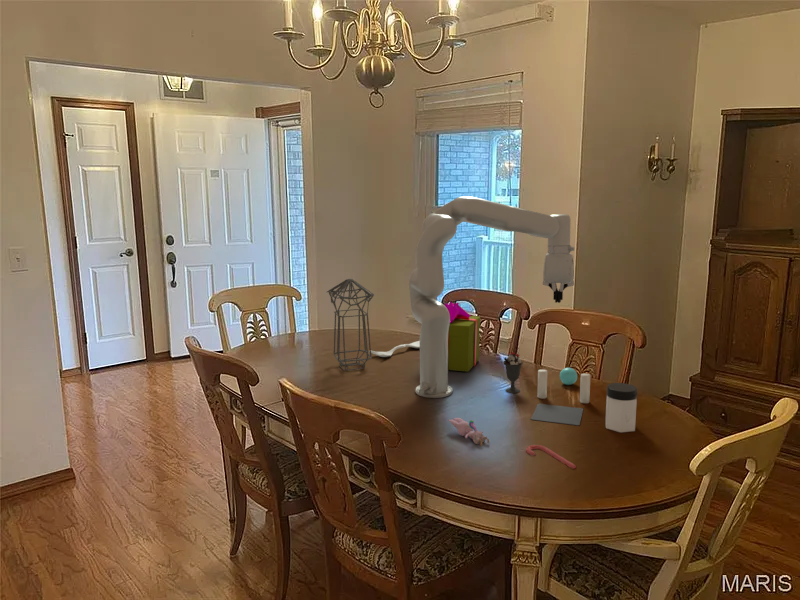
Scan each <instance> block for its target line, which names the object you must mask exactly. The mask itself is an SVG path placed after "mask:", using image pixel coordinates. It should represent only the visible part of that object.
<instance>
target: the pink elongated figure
mask: <svg viewBox="0 0 800 600" xmlns="http://www.w3.org/2000/svg"><path fill="white" fill-rule="evenodd" d="M448 422H450V424H451V425H452V426H453V427H454V428H455V429H456V430H457V433H458V434H459V435H460V436H461V437H465V439H467V438H468V437H469V438H470V439H471V440H472V441H473V443H474V444H475V445H479V446H483V443H485V441H486V440H487V441H486V442H487V443H486V444H490V439H489V438H488V437H487V436H485V435H484V432H483V431H481V430H480V431H479V430H477V427H476V425H475V424H474V423H475V422H474V420H473V419H471V420H470V421H469V422H468V421H465V420H464V419H462V418H461V417H453V418H452V419H448Z"/></svg>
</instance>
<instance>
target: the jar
mask: <svg viewBox="0 0 800 600" xmlns="http://www.w3.org/2000/svg"><path fill="white" fill-rule="evenodd" d="M637 398H638V388H637V387H636V386H635V385H632V384H629V383H626V382H625V383H624V382H623V383H622V382H611V383H609V384H607V387H606V401H605V405H606V406H605V423H604V424H605V428H606V429H607V430H610V431H613V432H617V433H621V434H622V433H629V432H636V421H637V420H636V416H637V404H638V403H637V402H638V400H637Z"/></svg>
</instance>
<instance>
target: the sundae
mask: <svg viewBox="0 0 800 600" xmlns="http://www.w3.org/2000/svg"><path fill="white" fill-rule="evenodd" d="M518 351H519V347H516V350H515V351H514V352H512V353H511V354H509V355H507V357H504V358H503V361H502V362H503V363H502V364H503V365H504V366H505V371H506V373H505V375H506V378H507V379H508V380H509V381H510V382H511V383H510V387H507V388H506V389H505V390H504V391H505V392H506V393H509V394H518V392H519V393H520V392H521V390H520V389H518V388H516V386H515V385H516V384H515V382H516V381H517V380H519V378H520V374H521V367H522V365H523V364H524V362H522V359H521V358H520V355H519V354H518Z"/></svg>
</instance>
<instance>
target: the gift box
mask: <svg viewBox="0 0 800 600" xmlns="http://www.w3.org/2000/svg"><path fill="white" fill-rule="evenodd" d="M444 305H445V306H446V308H447V309H448V311H449V314H450V324H449V331H448V371H457V372H458V371H459V372H470V370H471V369H472V368H474V367H475V366H477V363H478V361H479V360H480V328H481V316H476V315H475V316H474V315H472V314H469V313H468V311H466V310H465V309H464V308H463V307H462V306H461V305H460V303H459V302H456V303H452V301H449V303H444Z"/></svg>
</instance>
